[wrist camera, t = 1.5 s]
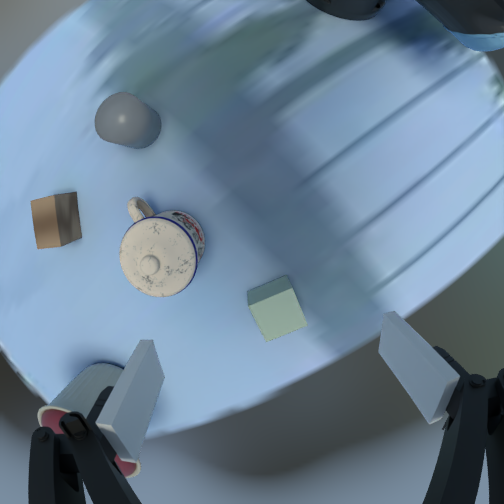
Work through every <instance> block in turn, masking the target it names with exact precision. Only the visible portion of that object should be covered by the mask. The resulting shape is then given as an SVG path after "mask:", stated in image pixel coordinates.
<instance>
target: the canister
mask: <svg viewBox="0 0 504 504" xmlns="http://www.w3.org/2000/svg"><path fill="white" fill-rule="evenodd" d="M122 372H123V369H121V368H119V367H118V366H114V365H110V364H105V363H97V364H93V365H91V366H89V367H87V368H86V369H84V370H83V371H82V372H81V373H80V374H79V375H78V376H77V377H76V378H74V379H73V380H72V381H71V382H70V383H69V384H68V385H67V386H66V387H65V388H64V389H63V391H62V392H61V393H60V394H59V395H58V396H57V397H56V398H55V399H54V400H53V401H52V402H51V403H50V404H49V405H46V406H43V407H41V408H40V409H39V411H38V421H39V424H40V426H41V427H43V426H46V427H50V428H51V429H52V430H53V431H54V433H55V434H64V433H63V431H62V430H61V429H60V427H59V420H60V418H61V417H62V416H63V415H64V414H66V413H68V412H72V411H76V412H80V413H82V414H83V416H84V417H85V419H86V418H87V416H88V414H89V412H90V410H91V409H92V407H93V406H94V403H95V402H96V400H97V398H98V396H99V394H100V393H101V391H103V390H104V389H105V388H106V387H107V386H115V385H116V383H117V381H118V379H119V377H120V375H121V374H122ZM139 454H140V453H139ZM114 460H115V461H116V463H117V464H118V466H119V468H120V470H121V471H122V473H123V475H124V477H125V478H130V477H134V476H136V475H138V474H139V472H140V470H141V464H140V461H139V457H138V460H137V463H133V462H127V461H122V460H121V459H120V458H119V456H118V455H117V454H116V457H115V459H114Z"/></svg>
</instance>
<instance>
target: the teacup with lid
mask: <svg viewBox="0 0 504 504" xmlns="http://www.w3.org/2000/svg"><path fill="white" fill-rule="evenodd" d="M127 206H128V211H129V214H130V216H131V218H132V219H133V221H134V222H135V223H134V224H133V225H132V226H131V227H130V228H129V229H128V230H127V232H126V233H125V235H124V237H123V239H122V242H121V246H120V263H121V267H122V270H123V272H124V274H125V276H126V278H127V279H128V280H129V282H130V283H131V284H132V285H133V286H134V287H135V288H137V289H138V290H139V291H141V292H143V293H145V294H147V295H150V296H154V297H167V296H172V295H175V294H177V293H179V292H181V291H182V290H184V289H185V288H186V287H187V286H188V285H189V284H190V283H191V281H192V279H193V278H194V276H195V273H196V270H197V265H198V263H199V261H200V259H201V257H202V255H203V252H204V248H205V237H204V233H203V230H202V228H201V226H200V225H199V223H198V222H197V221H196V220H195V219H194V218H193V217H192V216H190V215H189V214H187V213H184V212H181V211H176V210H170V211H165V212H162V213H160V214H158V215H156V214H155V213H154V211H153V210H152V208H151V207H150V206H149V205H148V203H147V202H145V201H144V200H143V199H141V198H139V197H133V198H132V199H130V200H129V201H128V204H127ZM139 209H140V210H141V211H142V212H143V214H144V215H145V216H146V218H144V217H143V215H142V214H141V212H140V210H139Z"/></svg>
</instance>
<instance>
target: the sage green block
mask: <svg viewBox="0 0 504 504" xmlns="http://www.w3.org/2000/svg"><path fill="white" fill-rule="evenodd" d="M247 293H248V307H249V309H250V311H251V313H252V315H253V317H254V319H255V321H256V323H257V325H258V327H259V329H260V331H261V333H262V335H263V337H264V339H265V341H266V342H268V341H271V340H273V339H276V338H278V337H281V336H283V335H286V334H288V333H291V332H293V331H296V330H298V329H300V328H303V327H305V326H307V325H308V324H307V322H306V320H305V317H304V315H303V312H302V310H301V307H300V305H299V302H298V300H297V298H296V295H295V293H294V290H293V288H292V286H291V284H290V281H289V279H288V277H287V275H285V276H283V277H280V278H278V279H276V280H273V281H271V282H269V283H266V284H264V285H262V286H259V287H257V288H254V289H252V290H250V291H247Z"/></svg>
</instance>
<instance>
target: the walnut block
mask: <svg viewBox="0 0 504 504" xmlns="http://www.w3.org/2000/svg"><path fill="white" fill-rule="evenodd" d="M31 209H32V218H33V225H34V232H35V238H36V244H37V249H44V248H53V247H61V246H64V245H66V244H68V243H70V242H73V241H75V240H77V239H80V238H82V233H81V227H80V219H79V211H78V202H77V192H72V193H65V194H58V195H53V196H48V197H44V198H40V199H36V200H32V201H31Z"/></svg>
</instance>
